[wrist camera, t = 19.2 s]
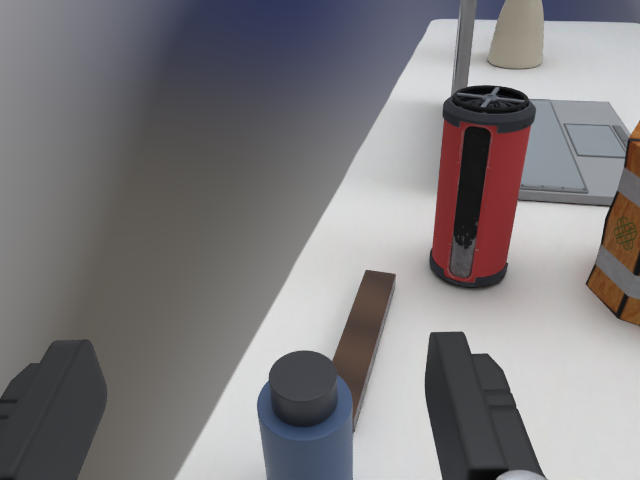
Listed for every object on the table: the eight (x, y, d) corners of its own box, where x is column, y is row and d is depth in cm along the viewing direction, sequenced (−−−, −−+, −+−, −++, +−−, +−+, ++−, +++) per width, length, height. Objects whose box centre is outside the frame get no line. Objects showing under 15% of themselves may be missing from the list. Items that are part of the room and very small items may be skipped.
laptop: (672, 210, 64) (766, -50, 50) (445, 195, 70) (469, -45, 55) (606, 109, 93) (654, -76, 78) (449, 103, 98) (466, -71, 83)
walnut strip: (353, 433, 40) (353, 419, 39) (314, 424, 41) (313, 411, 40) (395, 285, 54) (395, 273, 54) (365, 281, 55) (365, 269, 54)
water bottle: (309, 565, 32) (298, 432, 26) (255, 505, 35) (233, 374, 29) (369, 506, 35) (373, 374, 29) (314, 456, 38) (306, 326, 32)
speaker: (418, 278, 55) (432, 104, 45) (441, 240, 61) (458, 78, 51) (496, 298, 52) (529, 116, 42) (513, 256, 58) (545, 87, 48)
